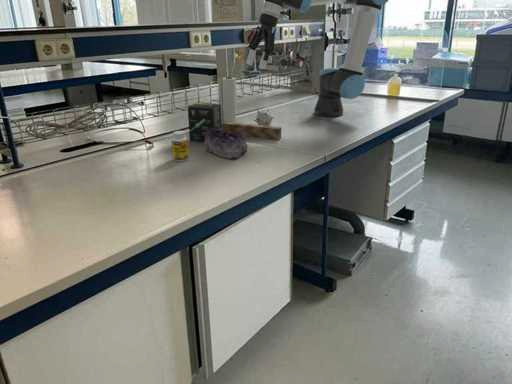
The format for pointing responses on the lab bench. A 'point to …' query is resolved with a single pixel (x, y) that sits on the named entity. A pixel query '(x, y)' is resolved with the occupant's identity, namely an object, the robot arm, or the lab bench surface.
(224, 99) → the paper towel roll
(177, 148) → the supplement bottle
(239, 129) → the board
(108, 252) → the lab bench surface
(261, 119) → the game die
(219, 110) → the tampon box
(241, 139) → the geode
